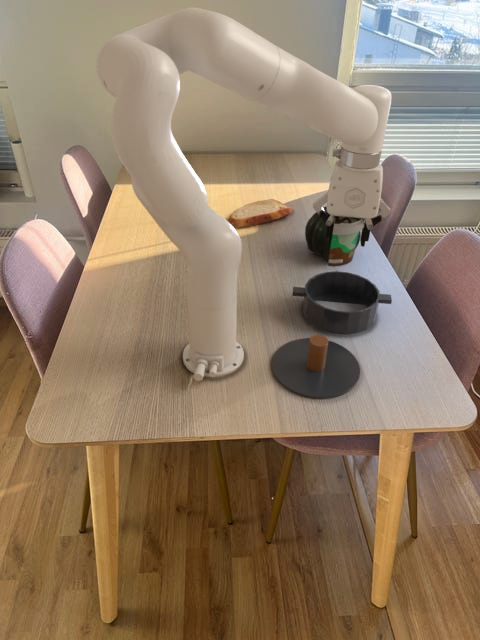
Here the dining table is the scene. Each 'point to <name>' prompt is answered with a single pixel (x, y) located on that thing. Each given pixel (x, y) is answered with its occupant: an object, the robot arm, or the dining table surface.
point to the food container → (344, 240)
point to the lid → (316, 367)
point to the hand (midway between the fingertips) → (345, 241)
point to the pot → (340, 301)
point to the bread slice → (259, 213)
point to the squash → (319, 236)
